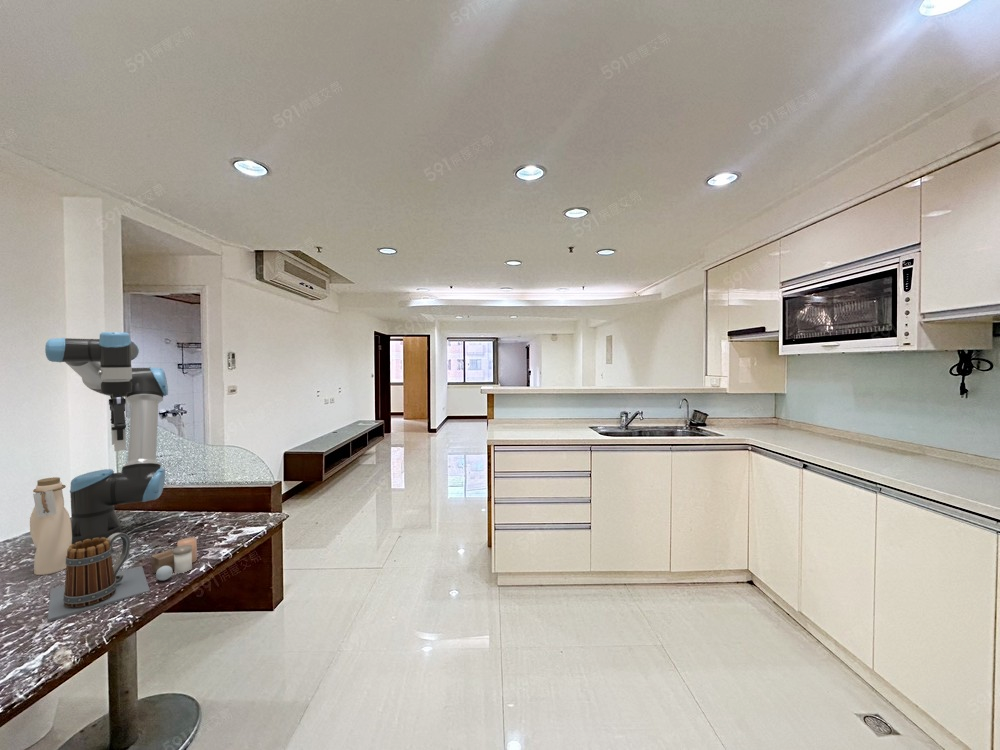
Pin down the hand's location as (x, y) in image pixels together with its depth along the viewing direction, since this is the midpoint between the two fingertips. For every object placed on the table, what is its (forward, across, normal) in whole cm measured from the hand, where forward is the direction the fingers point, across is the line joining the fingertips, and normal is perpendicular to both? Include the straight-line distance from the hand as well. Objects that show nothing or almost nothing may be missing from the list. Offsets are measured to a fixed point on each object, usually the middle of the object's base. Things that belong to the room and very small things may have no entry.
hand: (118, 447), depth 142 cm
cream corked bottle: (+37, -6, -16) cm, 41 cm away
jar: (+37, +22, +13) cm, 45 cm away
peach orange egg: (+37, +16, +15) cm, 43 cm away
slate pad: (+37, +21, -6) cm, 43 cm away
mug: (+36, +24, -6) cm, 44 cm away
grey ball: (+35, +25, +8) cm, 44 cm away
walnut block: (+37, +18, +9) cm, 42 cm away
